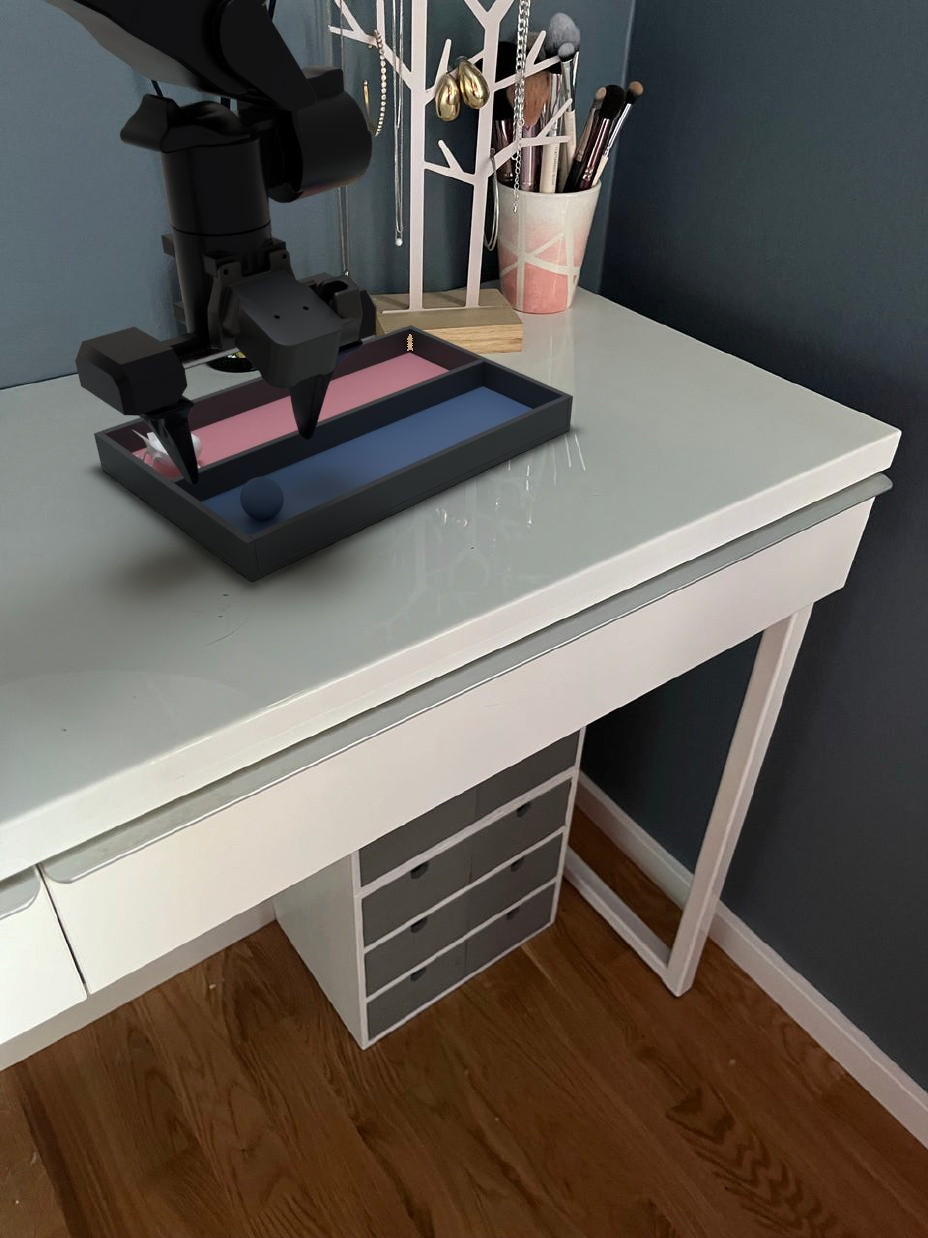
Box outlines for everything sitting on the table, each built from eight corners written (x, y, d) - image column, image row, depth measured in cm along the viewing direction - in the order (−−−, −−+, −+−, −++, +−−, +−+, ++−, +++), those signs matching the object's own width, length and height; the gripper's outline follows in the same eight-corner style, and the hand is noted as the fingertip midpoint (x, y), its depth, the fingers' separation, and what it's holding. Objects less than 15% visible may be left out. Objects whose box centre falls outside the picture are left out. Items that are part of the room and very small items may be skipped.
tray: (251, 582, 65) (246, 543, 63) (101, 469, 76) (93, 433, 74) (570, 429, 83) (573, 395, 81) (411, 356, 94) (410, 324, 92)
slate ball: (252, 526, 68) (262, 485, 67) (227, 510, 69) (236, 469, 68) (286, 526, 70) (296, 486, 69) (261, 510, 72) (271, 471, 71)
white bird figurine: (234, 471, 74) (205, 424, 70) (184, 510, 72) (152, 464, 69) (182, 431, 78) (152, 385, 75) (134, 467, 77) (102, 421, 73)
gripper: (149, 298, 48) (197, 563, 57) (433, 221, 58) (433, 457, 68) (42, 241, 54) (102, 490, 63) (316, 181, 64) (332, 402, 74)
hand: (251, 459), depth 67 cm, fingers open, 9 cm apart
